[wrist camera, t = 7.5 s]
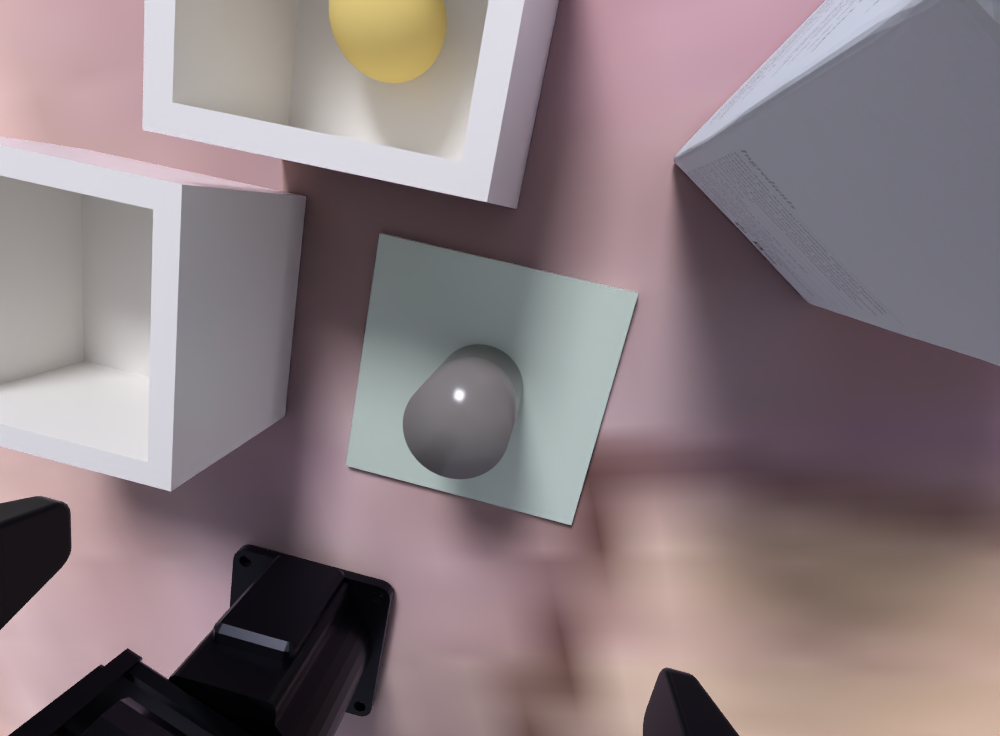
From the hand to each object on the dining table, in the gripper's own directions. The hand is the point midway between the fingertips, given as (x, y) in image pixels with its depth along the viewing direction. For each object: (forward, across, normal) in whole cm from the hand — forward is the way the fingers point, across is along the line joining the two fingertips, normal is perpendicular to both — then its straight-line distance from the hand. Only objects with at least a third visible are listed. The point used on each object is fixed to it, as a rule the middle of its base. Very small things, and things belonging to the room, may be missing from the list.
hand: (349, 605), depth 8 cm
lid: (+12, 0, 0) cm, 12 cm away
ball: (+11, +4, -10) cm, 15 cm away
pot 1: (+12, +11, -1) cm, 16 cm away
